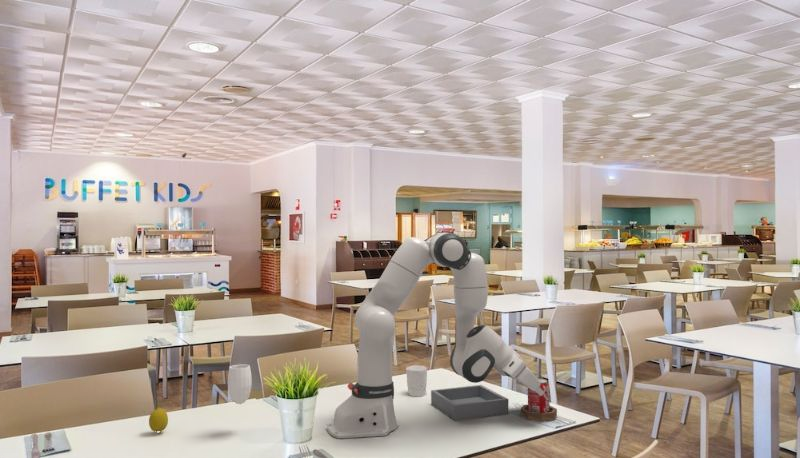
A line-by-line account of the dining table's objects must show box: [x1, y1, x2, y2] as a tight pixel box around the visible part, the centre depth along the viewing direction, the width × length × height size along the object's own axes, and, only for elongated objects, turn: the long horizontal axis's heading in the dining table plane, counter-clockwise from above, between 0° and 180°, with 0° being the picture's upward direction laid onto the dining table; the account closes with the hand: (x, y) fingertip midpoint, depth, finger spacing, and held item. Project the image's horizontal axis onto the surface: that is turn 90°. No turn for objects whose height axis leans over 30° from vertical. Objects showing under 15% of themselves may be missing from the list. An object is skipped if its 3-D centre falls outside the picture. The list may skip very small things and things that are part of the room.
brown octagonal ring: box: [520, 404, 558, 423], centre depth 201 cm, size 11×11×2 cm
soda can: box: [527, 377, 551, 413], centre depth 201 cm, size 7×7×12 cm
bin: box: [430, 384, 510, 421], centre depth 210 cm, size 20×20×5 cm
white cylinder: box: [406, 365, 428, 397], centre depth 229 cm, size 8×8×10 cm
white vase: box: [227, 363, 253, 405], centre depth 188 cm, size 7×7×21 cm
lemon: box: [148, 407, 169, 432], centre depth 188 cm, size 6×6×8 cm
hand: (536, 390), depth 201 cm, fingers open, 8 cm apart
